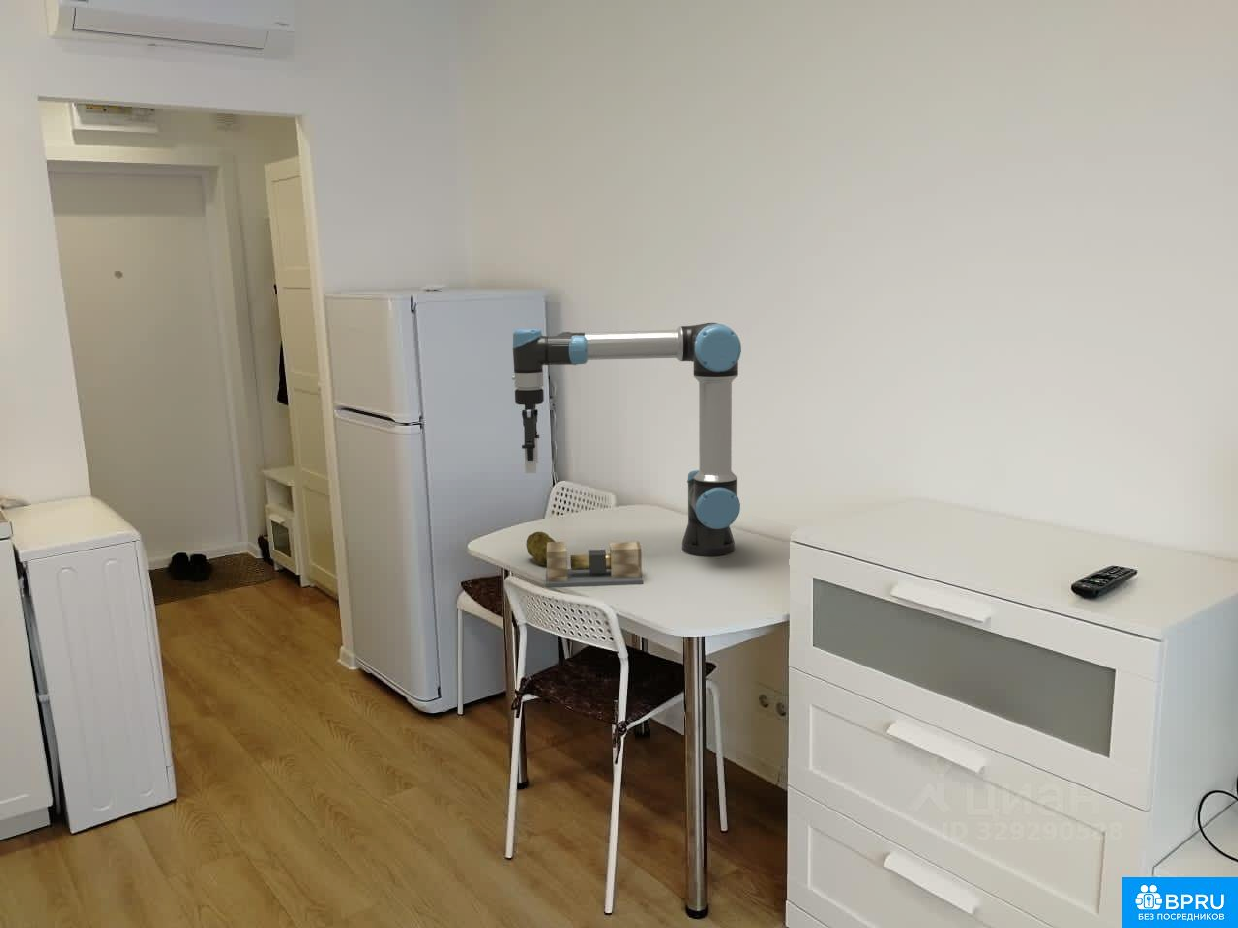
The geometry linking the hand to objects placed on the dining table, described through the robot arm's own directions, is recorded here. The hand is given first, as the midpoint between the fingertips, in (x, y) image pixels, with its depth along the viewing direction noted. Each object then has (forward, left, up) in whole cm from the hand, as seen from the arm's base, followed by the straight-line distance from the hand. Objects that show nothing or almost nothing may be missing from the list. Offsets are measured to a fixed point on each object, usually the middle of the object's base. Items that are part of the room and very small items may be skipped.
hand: (531, 467), depth 260 cm
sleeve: (-24, +11, -27) cm, 38 cm away
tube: (-18, +11, -26) cm, 33 cm away
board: (-16, +11, -28) cm, 34 cm away
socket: (-6, +11, -28) cm, 30 cm away
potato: (-2, -5, -28) cm, 29 cm away
